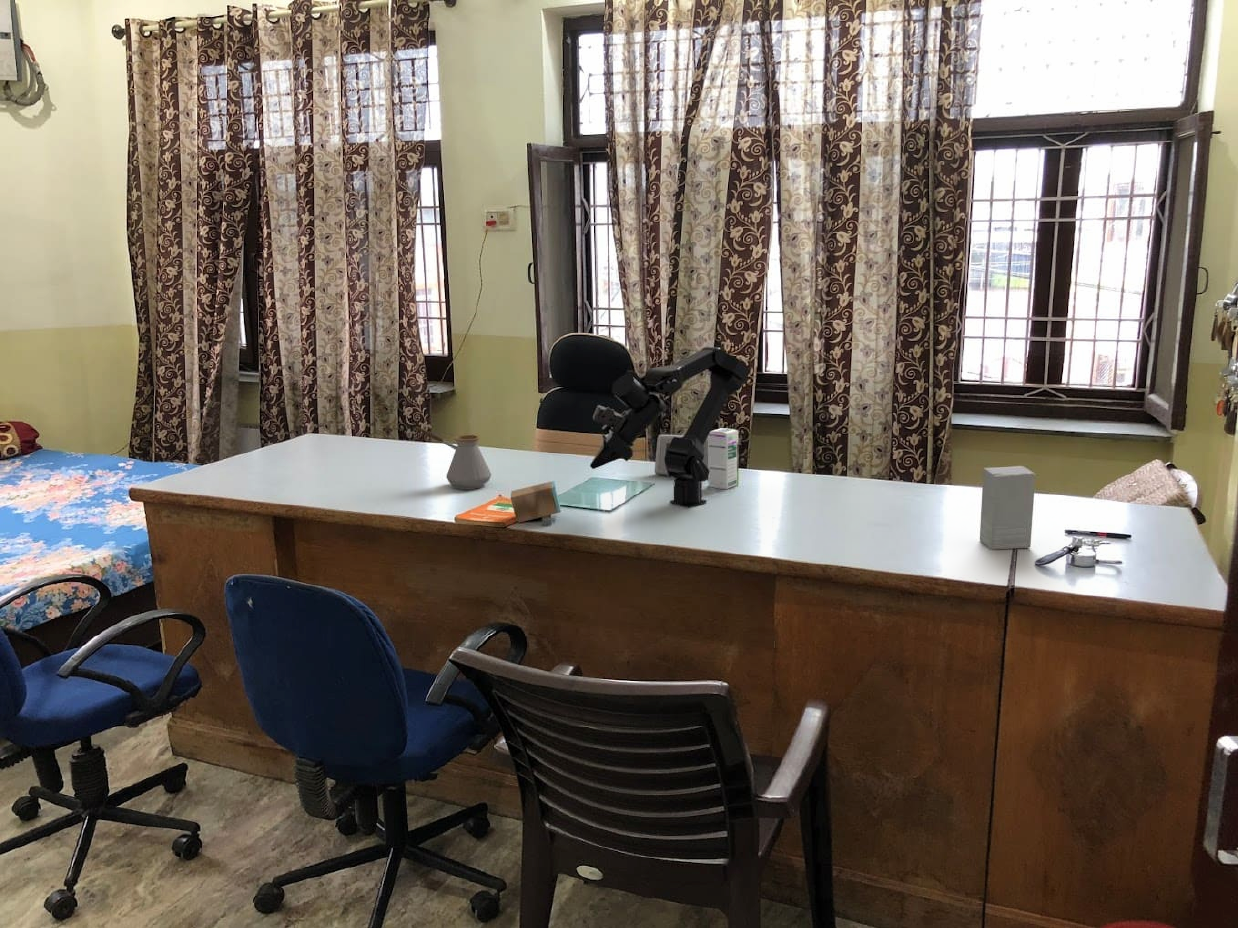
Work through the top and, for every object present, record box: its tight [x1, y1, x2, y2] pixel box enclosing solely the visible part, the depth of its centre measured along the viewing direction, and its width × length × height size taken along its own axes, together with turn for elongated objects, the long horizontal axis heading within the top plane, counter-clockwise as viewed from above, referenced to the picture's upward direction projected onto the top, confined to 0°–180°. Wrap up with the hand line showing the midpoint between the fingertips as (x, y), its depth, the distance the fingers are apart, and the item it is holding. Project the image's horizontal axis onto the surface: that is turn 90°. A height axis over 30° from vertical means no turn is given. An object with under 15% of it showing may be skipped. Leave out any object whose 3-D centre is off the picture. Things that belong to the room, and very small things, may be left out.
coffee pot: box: [412, 426, 492, 490], centre depth 254 cm, size 21×12×15 cm, turn 69°
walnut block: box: [510, 480, 561, 523], centre depth 222 cm, size 6×6×10 cm
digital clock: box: [654, 434, 708, 477], centre depth 261 cm, size 16×9×11 cm, turn 58°
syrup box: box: [707, 427, 740, 490], centre depth 248 cm, size 6×6×14 cm
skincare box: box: [979, 465, 1037, 551], centre depth 196 cm, size 8×7×16 cm
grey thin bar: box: [541, 515, 552, 527], centre depth 222 cm, size 2×12×1 cm, turn 4°
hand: (591, 467), depth 221 cm, fingers closed
